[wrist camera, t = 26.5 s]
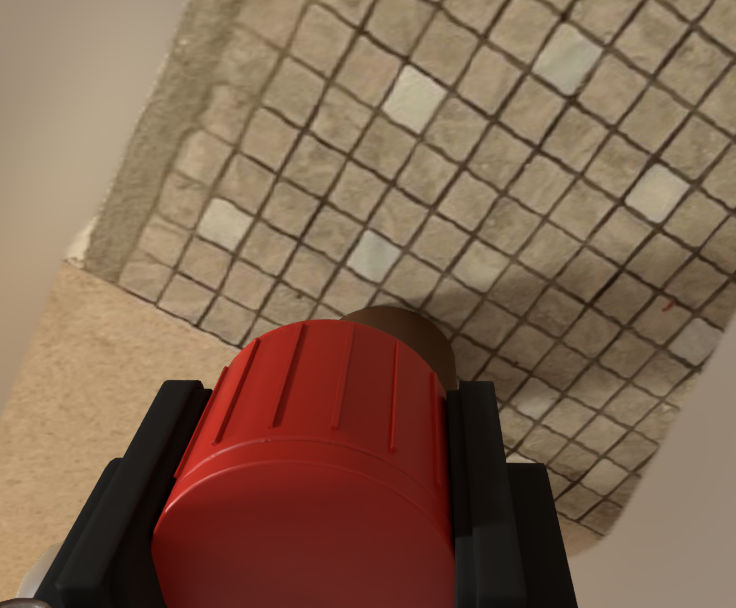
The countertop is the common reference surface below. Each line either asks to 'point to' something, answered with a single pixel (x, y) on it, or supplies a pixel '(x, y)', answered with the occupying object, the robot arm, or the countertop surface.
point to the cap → (314, 480)
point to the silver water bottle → (38, 572)
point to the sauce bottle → (413, 338)
